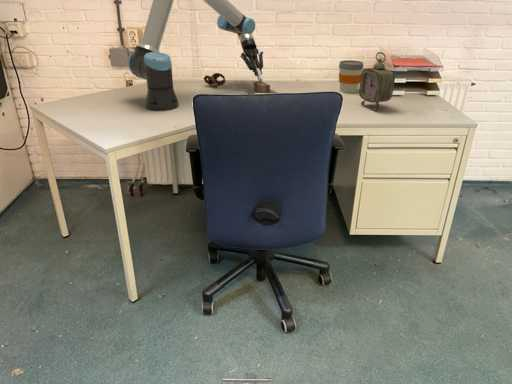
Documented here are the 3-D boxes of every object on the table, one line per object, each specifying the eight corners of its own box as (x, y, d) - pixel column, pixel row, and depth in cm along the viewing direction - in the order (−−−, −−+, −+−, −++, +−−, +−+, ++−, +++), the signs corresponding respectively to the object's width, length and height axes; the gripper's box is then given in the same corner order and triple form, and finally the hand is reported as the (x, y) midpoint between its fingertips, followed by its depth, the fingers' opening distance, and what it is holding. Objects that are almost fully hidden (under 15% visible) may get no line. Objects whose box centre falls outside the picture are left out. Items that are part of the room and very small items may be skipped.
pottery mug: (224, 84, 231) (227, 73, 224) (222, 95, 225) (225, 84, 219) (203, 79, 229) (205, 68, 222) (201, 90, 223) (203, 79, 216)
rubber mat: (253, 96, 207) (253, 95, 206) (245, 91, 215) (245, 90, 215) (277, 93, 212) (277, 92, 212) (268, 89, 221) (268, 88, 220)
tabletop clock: (357, 104, 195) (364, 50, 183) (372, 102, 198) (380, 49, 186) (374, 112, 183) (383, 55, 171) (391, 110, 186) (401, 54, 174)
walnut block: (253, 89, 217) (261, 94, 208) (253, 81, 215) (262, 85, 206) (260, 89, 219) (269, 93, 210) (260, 80, 216) (269, 85, 208)
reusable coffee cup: (335, 93, 214) (338, 64, 207) (337, 87, 225) (340, 59, 218) (359, 94, 211) (363, 65, 204) (360, 89, 222) (363, 61, 215)
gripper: (256, 46, 223) (269, 83, 218) (234, 47, 218) (247, 85, 213) (260, 37, 216) (274, 75, 211) (238, 38, 211) (251, 77, 206)
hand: (260, 80), depth 212 cm, fingers closed
